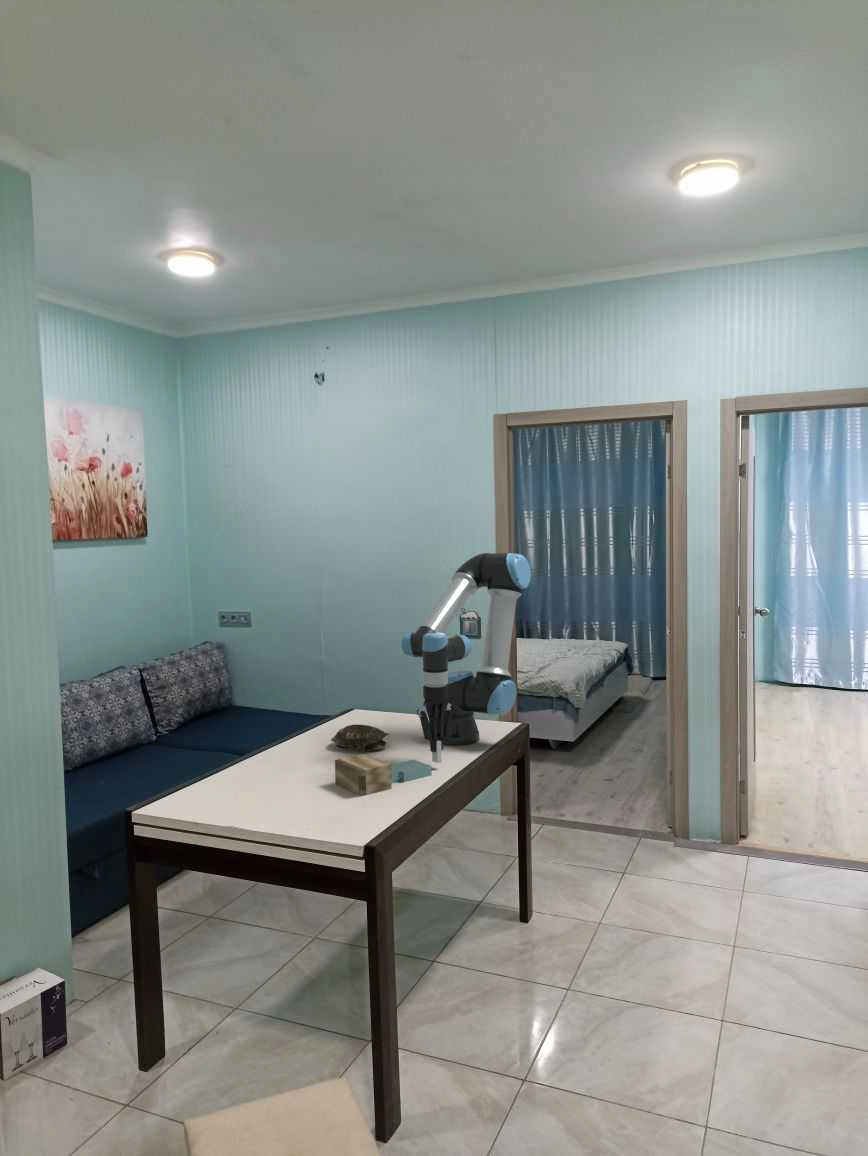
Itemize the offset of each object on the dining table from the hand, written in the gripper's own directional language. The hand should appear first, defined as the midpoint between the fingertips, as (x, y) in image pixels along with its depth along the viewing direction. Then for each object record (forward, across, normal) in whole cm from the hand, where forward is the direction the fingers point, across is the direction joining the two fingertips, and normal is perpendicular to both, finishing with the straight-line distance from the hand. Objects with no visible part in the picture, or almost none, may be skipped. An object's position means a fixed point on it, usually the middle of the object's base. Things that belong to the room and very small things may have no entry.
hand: (436, 761), depth 261 cm
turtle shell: (+2, +4, -36) cm, 37 cm away
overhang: (+2, +26, 0) cm, 26 cm away
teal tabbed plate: (+2, +12, 0) cm, 13 cm away
